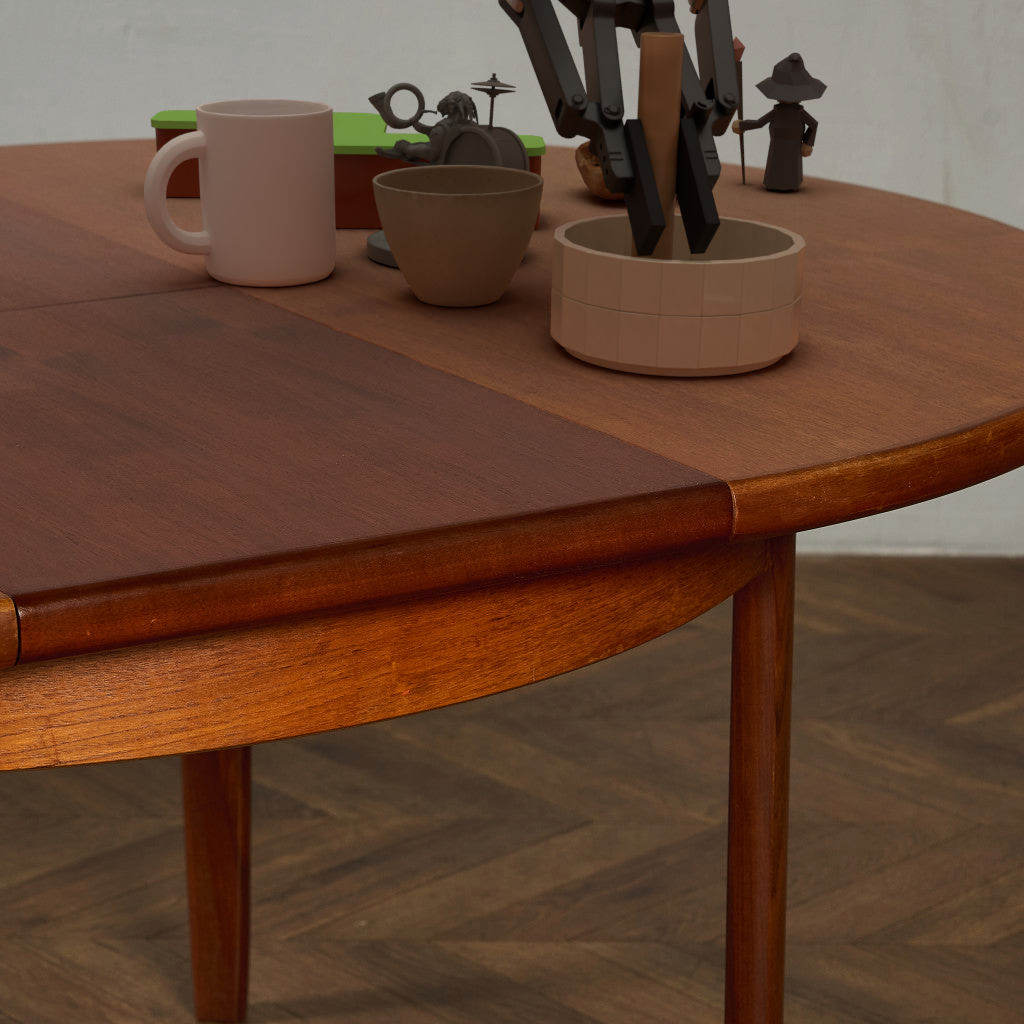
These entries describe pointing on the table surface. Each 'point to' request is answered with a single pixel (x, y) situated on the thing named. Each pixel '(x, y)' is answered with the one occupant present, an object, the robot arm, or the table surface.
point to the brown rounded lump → (593, 173)
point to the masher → (661, 122)
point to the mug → (255, 191)
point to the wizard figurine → (782, 119)
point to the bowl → (677, 298)
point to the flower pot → (458, 228)
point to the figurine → (447, 141)
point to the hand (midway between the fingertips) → (678, 239)
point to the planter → (351, 161)
